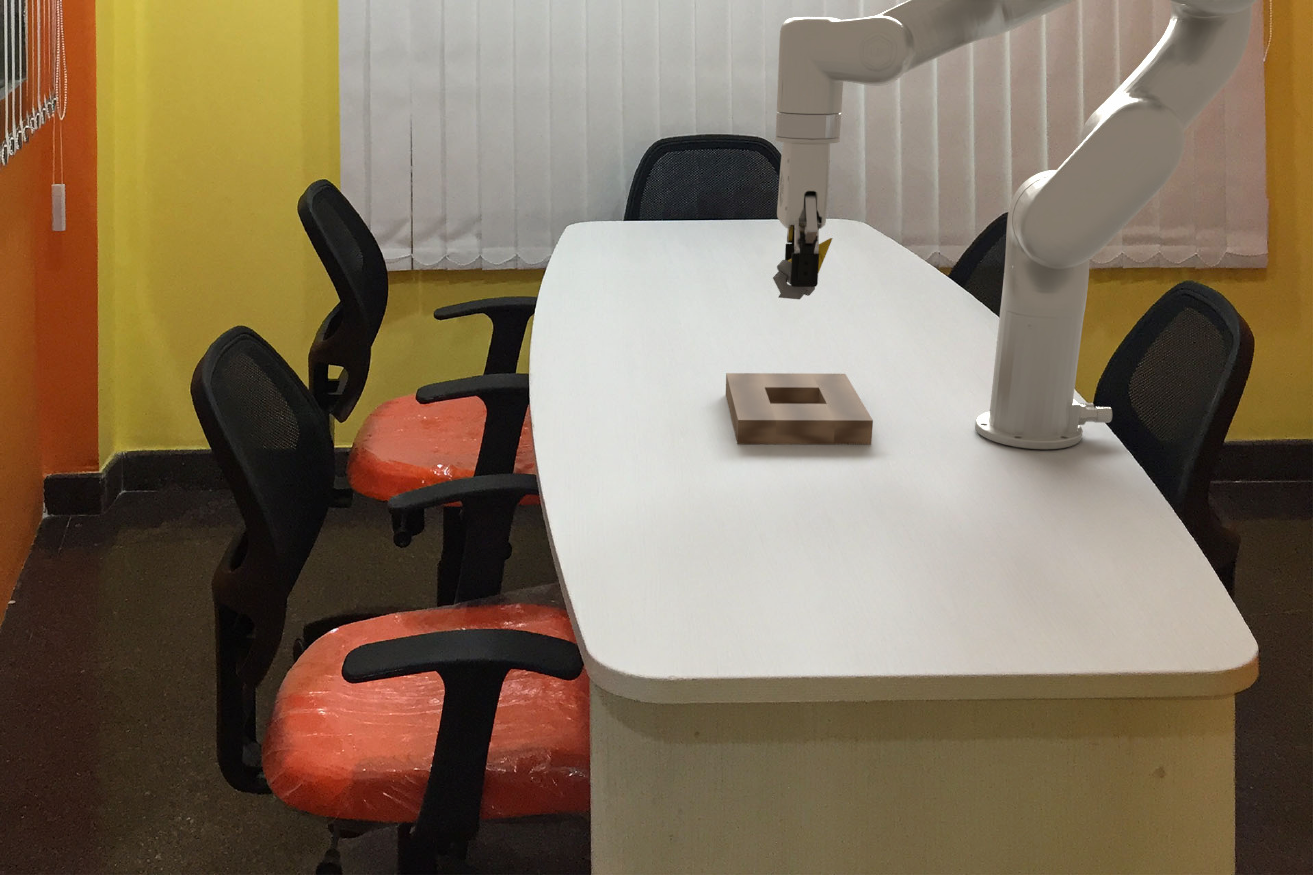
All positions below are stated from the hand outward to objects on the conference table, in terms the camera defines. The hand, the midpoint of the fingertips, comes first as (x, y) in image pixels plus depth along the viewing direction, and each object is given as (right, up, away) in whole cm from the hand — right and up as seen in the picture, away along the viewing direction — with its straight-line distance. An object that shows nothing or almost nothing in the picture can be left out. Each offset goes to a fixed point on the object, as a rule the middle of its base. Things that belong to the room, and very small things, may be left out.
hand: (800, 279), depth 147 cm
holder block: (0, -17, +6) cm, 18 cm away
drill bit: (0, -2, +1) cm, 2 cm away
